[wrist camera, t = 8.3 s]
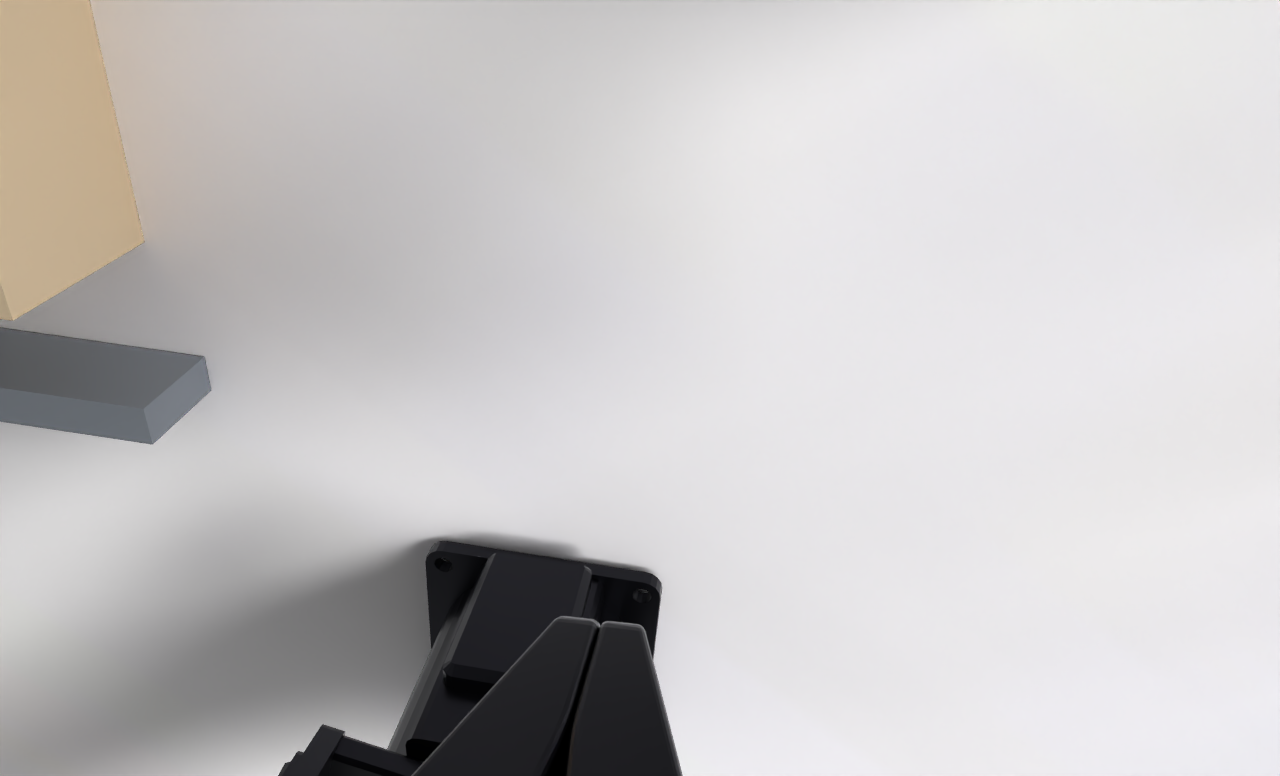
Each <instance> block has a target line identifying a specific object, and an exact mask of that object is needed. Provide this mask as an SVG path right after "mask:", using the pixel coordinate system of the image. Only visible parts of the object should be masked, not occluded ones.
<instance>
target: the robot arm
mask: <svg viewBox="0 0 1280 776" xmlns="http://www.w3.org/2000/svg"><path fill="white" fill-rule="evenodd" d="M442 558H445V559H448V560H449V561H450V562H447V561H444V560H443V559H442ZM426 574H427V590H428V605H429V620H430V635H431V652H430V654H429V656H428V658H427V661H426V663H425V665H424V667H423V670H422V672H421V674H420V676H419V679H418V681H417V683H416V685H415V688H414V690H413V692H412V694H411V697H410V699H409V701H408V703H407V706H406V708H405V710H404V712H403V715H402V717H401V719H400V721H399V724H398V726H397V728H396V730H395V732H394V735H393V737H392V739H391V741H390V744H389V746H388V748H387V749H384V748H381V747H378V746H375V745H371V744H368V743H365V742H362V741H359V740H356V739H353V738H350V737H347V736H345V731H342V730H339V729H336V728H333V727H330V726H327V725H324V724H323V725H322V726H321V727H320V729H319V730H318V732H317V733H316V735H315V736H314V738H313V739H312V741H311V742H310V744H309V745H308V747H307V748H306V750H305V751H304V753H303V752H300V751H298V752H297V753H296V755H295V756H294V758H293V759H292V761H291V762H288V763H285V764H284V766H283V768H282V770H281V772H280V773H279V775H278V776H683V775H682V771H681V768H680V764H679V760H678V756H677V752H676V748H675V744H674V740H673V736H672V733H671V729H670V725H669V721H668V717H667V713H666V709H665V705H664V701H663V697H662V694H661V690H660V686H659V682H658V678H657V674H656V670H655V666H654V662H653V658H654V650H655V642H656V634H657V626H658V617H659V609H660V601H661V593H662V585H661V582H660V581H659V579H658V578H657V577H655V576H654V575H653V574H650V573H646V572H641V571H635V570H628V569H622V568H615V567H609V566H602V565H596V564H590V563H583V562H577V561H570V560H564V559H558V558H551V557H545V556H538V555H532V554H525V553H519V552H513V551H506V550H500V549H493V548H487V547H480V546H474V545H468V544H461V543H455V542H448V541H440V542H438V543H435V544H434V545H433V546H432V548H431V550H430V552H429V553H428V555H427V558H426ZM637 589H644V590H647V591H648V593H643V592H640V591H638V590H637Z"/></svg>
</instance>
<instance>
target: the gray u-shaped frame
mask: <svg viewBox="0 0 1280 776" xmlns="http://www.w3.org/2000/svg"><path fill="white" fill-rule="evenodd" d="M210 391H211V387H210V382H209V377H208V372H207V368H206V363H205V358H204V357H202V356H195V355H188V354H181V353H174V352H167V351H160V350H153V349H145V348H138V347H131V346H124V345H117V344H110V343H103V342H96V341H89V340H82V339H75V338H68V337H61V336H54V335H47V334H40V333H33V332H26V331H19V330H12V329H5V328H0V421H1V422H7V423H14V424H21V425H27V426H34V427H40V428H47V429H54V430H60V431H67V432H74V433H80V434H87V435H93V436H100V437H107V438H113V439H120V440H127V441H133V442H140V443H146V444H154V443H155V442H156V441H157V440H158V439H159V438H160V437H161V436H162V435H163V434H164V433H166V432H167V431H168V430H169V429H170V428H171V427H172V426H173V425H174V424H175V423H176V422H177V421H178V420H180V419H181V418H182V417H183V416H184V415H185V414H186V413H187V412H188V411H189V410H190V409H191V408H193V407H194V406H195V405H196V404H197V403H198V402H199V401H200V400H201V399H202V398H203V397H204V396H206V395H207V394H208V393H209V392H210Z"/></svg>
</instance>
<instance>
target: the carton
mask: <svg viewBox="0 0 1280 776" xmlns="http://www.w3.org/2000/svg"><path fill="white" fill-rule="evenodd" d="M142 243H144V238H143V233H142V229H141V225H140V220H139V216H138V211H137V207H136V203H135V198H134V194H133V189H132V185H131V181H130V176H129V172H128V167H127V163H126V159H125V154H124V150H123V145H122V141H121V137H120V132H119V128H118V123H117V119H116V115H115V110H114V106H113V101H112V97H111V93H110V88H109V84H108V79H107V75H106V71H105V66H104V62H103V57H102V53H101V49H100V44H99V40H98V35H97V31H96V27H95V22H94V18H93V13H92V9H91V5H90V0H0V319H4V320H11V321H14V320H15V319H17V318H19V317H20V316H22V315H24V314H25V313H27V312H29V311H30V310H32V309H34V308H35V307H37V306H39V305H40V304H42V303H44V302H45V301H47V300H49V299H50V298H52V297H54V296H55V295H57V294H59V293H60V292H62V291H64V290H65V289H67V288H69V287H70V286H72V285H74V284H75V283H77V282H79V281H80V280H82V279H84V278H85V277H87V276H89V275H90V274H92V273H94V272H95V271H97V270H99V269H101V268H102V267H104V266H106V265H107V264H109V263H111V262H112V261H114V260H116V259H117V258H119V257H121V256H122V255H124V254H126V253H127V252H129V251H131V250H132V249H134V248H136V247H137V246H139V245H141V244H142Z"/></svg>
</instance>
